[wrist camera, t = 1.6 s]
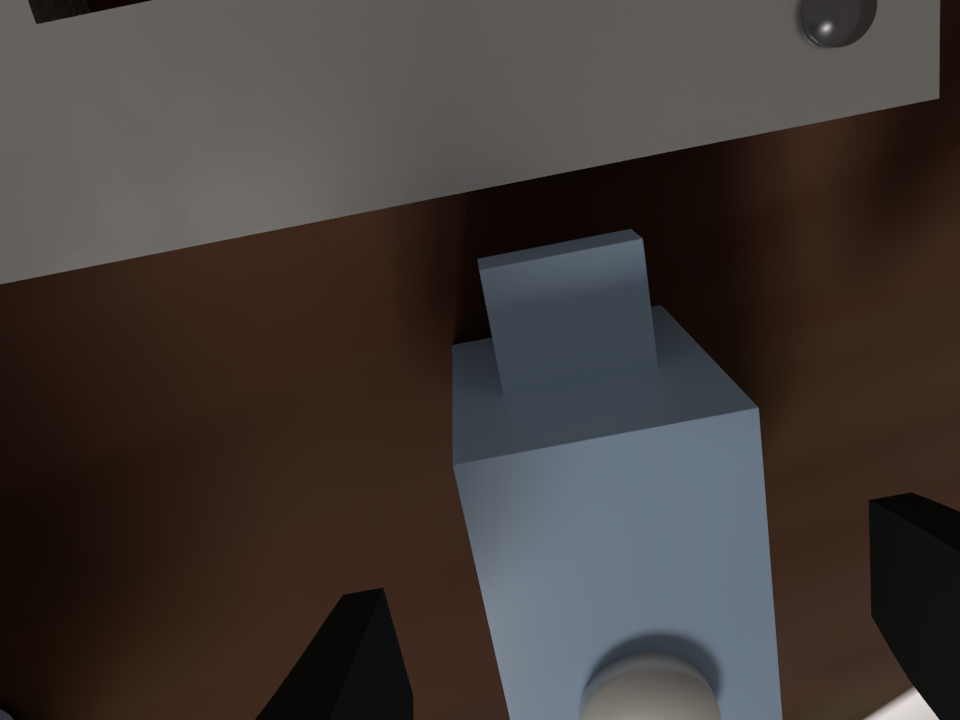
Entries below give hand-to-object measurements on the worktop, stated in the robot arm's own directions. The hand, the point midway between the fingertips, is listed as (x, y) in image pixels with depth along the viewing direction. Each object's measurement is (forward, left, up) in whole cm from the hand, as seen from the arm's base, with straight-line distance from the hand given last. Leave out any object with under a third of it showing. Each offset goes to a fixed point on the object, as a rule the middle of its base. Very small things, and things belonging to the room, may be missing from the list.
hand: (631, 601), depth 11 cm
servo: (0, 0, -5) cm, 5 cm away
